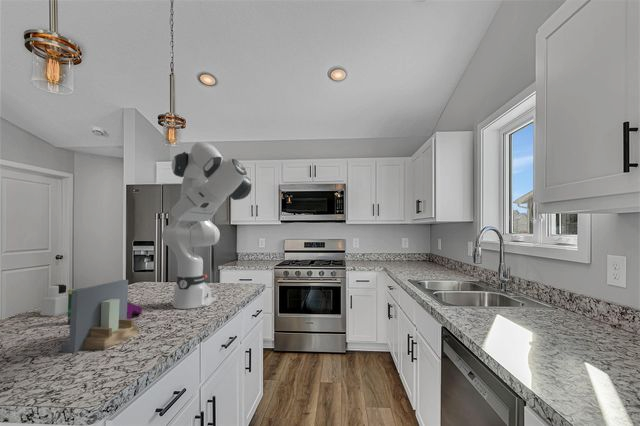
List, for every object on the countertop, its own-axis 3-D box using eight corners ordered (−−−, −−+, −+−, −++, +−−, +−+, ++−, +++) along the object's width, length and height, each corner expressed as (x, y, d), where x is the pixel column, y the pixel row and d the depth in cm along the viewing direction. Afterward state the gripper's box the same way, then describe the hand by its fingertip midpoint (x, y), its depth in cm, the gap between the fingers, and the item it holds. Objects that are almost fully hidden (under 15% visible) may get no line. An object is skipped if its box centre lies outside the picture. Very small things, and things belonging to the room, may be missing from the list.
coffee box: (66, 325, 115) (67, 290, 115) (66, 323, 117) (68, 288, 118) (92, 321, 119) (94, 287, 120) (93, 319, 122) (94, 286, 122)
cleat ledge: (119, 332, 107) (120, 317, 107) (137, 334, 106) (138, 318, 106) (83, 348, 93) (84, 330, 93) (104, 349, 92) (105, 331, 92)
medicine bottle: (56, 310, 134) (58, 283, 134) (71, 311, 133) (72, 283, 133) (39, 315, 127) (41, 286, 127) (54, 316, 126) (56, 287, 126)
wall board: (113, 329, 111) (115, 279, 112) (126, 330, 110) (128, 279, 111) (59, 351, 91) (63, 290, 92) (74, 352, 90) (77, 291, 91)
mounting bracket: (118, 330, 127) (90, 323, 111) (124, 309, 131) (98, 300, 115) (141, 330, 127) (116, 323, 111) (146, 309, 131) (123, 300, 116)
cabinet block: (110, 328, 102) (111, 298, 103) (118, 329, 102) (119, 299, 102) (100, 332, 98) (101, 301, 99) (108, 333, 98) (109, 301, 98)
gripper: (216, 195, 115) (191, 221, 116) (185, 188, 94) (155, 219, 95) (227, 207, 114) (202, 233, 115) (198, 202, 94) (167, 234, 94)
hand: (180, 227), depth 105 cm, fingers open, 8 cm apart
